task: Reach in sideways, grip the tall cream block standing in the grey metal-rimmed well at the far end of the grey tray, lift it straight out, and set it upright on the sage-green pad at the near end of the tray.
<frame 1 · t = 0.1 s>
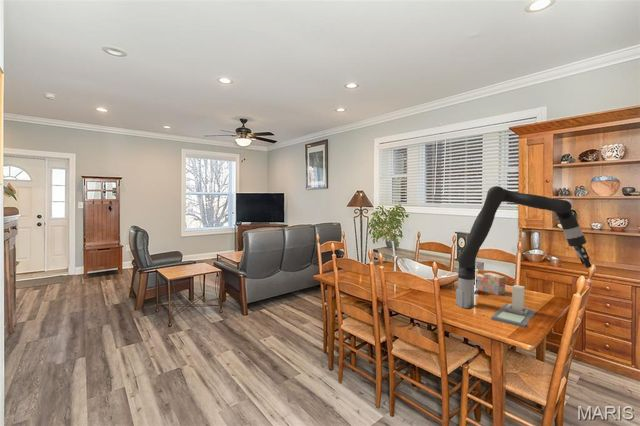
hand: (586, 265, 165), 31 cm above the table, tool tilted 20°, fingers open, 8 cm apart
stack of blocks: (488, 290, 224), on the table
grey tray: (514, 316, 178), on the table
cream block: (517, 310, 182), point 1 cm above the table, touching grey tray
supplement container: (468, 291, 222), on the table
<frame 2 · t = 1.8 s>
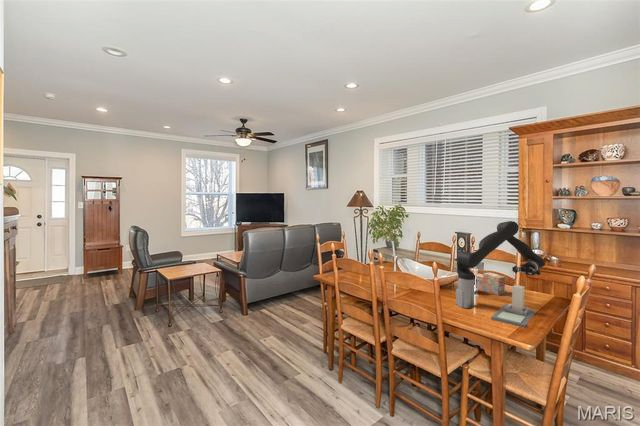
hand: (523, 272, 189), 22 cm above the table, tool horizontal, fingers open, 8 cm apart
nothing on the table moved.
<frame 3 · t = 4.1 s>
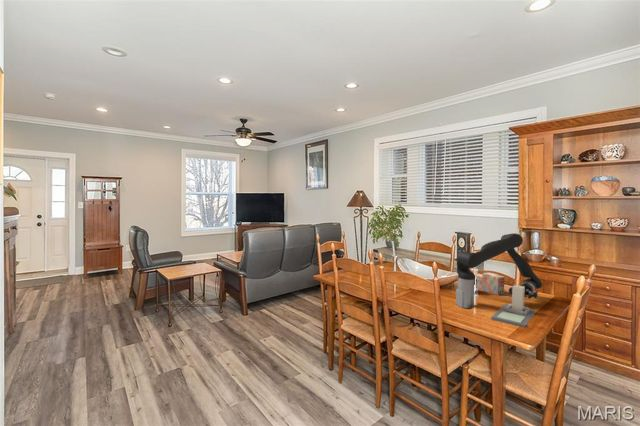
hand: (520, 295, 186), 9 cm above the table, tool horizontal, fingers open, 8 cm apart
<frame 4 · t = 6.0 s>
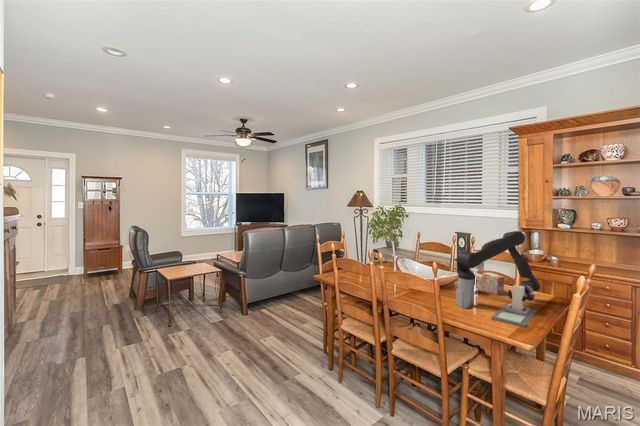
hand: (517, 298, 180), 9 cm above the table, tool horizontal, fingers closed on cream block, 5 cm apart
cream block: (517, 310, 182), point 2 cm above the table, touching gripper, grey tray
everything else where it was.
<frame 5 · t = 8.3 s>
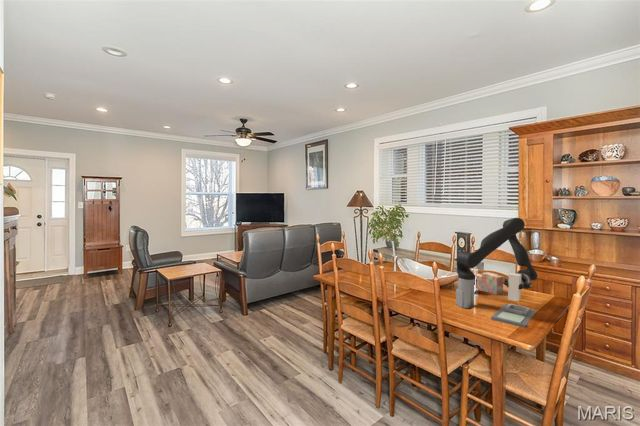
hand: (513, 286, 173), 18 cm above the table, tool horizontal, fingers closed on cream block, 5 cm apart
cream block: (514, 299, 175), point 10 cm above the table, touching gripper
when the fingers open (11 cm above the table, at t = 10.9 s): cream block drops 1 cm, resting on grey tray.
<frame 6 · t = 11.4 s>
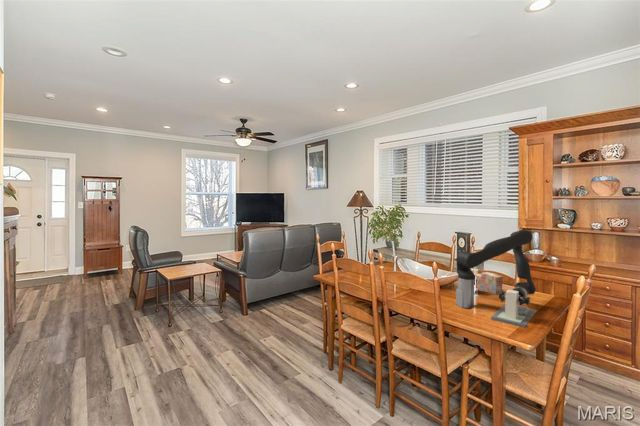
hand: (510, 301, 170), 11 cm above the table, tool horizontal, fingers open, 8 cm apart
cream block: (511, 316, 172), point 2 cm above the table, touching grey tray
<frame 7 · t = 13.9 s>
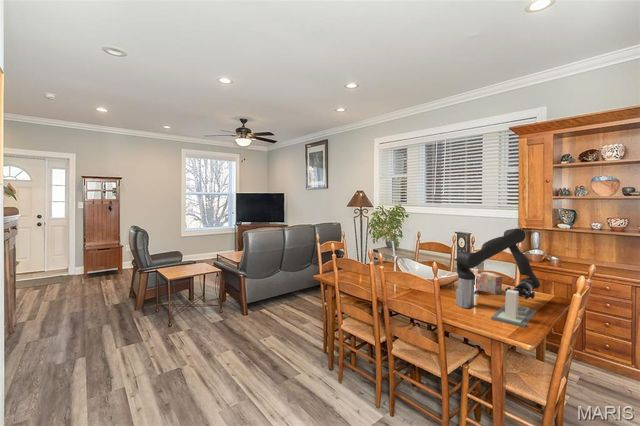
hand: (516, 295, 180), 11 cm above the table, tool horizontal, fingers open, 8 cm apart
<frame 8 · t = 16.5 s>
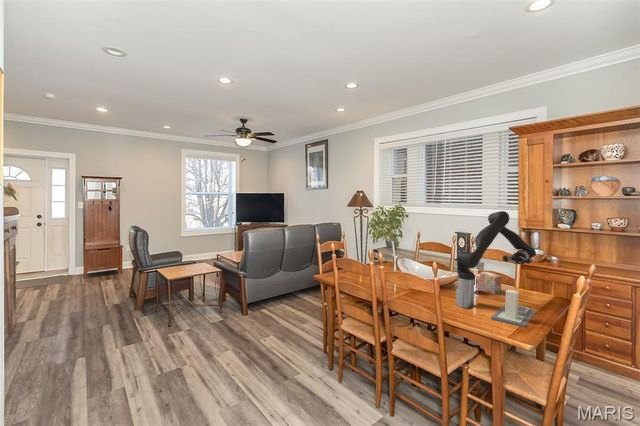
hand: (513, 261, 190), 28 cm above the table, tool horizontal, fingers open, 8 cm apart
at the end: cream block 0.0 cm from the target spot, point 1.9 cm above the table; cream block tilted 0°; the gripper is holding nothing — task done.
